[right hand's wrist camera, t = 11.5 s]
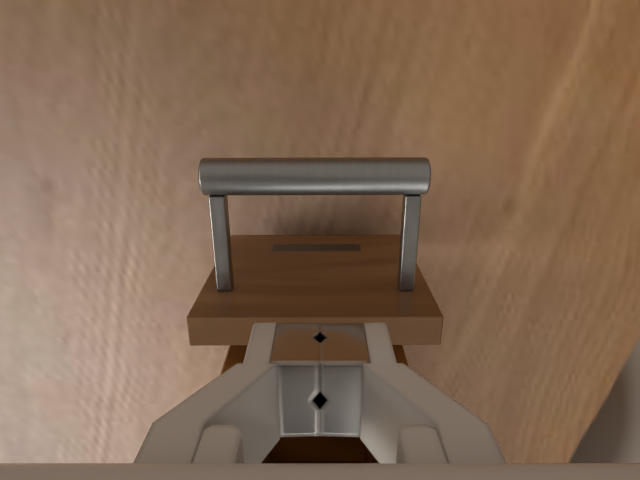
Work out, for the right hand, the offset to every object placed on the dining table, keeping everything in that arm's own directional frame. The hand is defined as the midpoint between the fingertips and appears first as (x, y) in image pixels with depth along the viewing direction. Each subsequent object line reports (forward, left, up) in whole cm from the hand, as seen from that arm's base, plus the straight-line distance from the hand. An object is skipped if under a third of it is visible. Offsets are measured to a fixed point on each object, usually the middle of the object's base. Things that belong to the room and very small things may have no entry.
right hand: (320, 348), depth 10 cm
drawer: (+7, -2, -14) cm, 16 cm away
